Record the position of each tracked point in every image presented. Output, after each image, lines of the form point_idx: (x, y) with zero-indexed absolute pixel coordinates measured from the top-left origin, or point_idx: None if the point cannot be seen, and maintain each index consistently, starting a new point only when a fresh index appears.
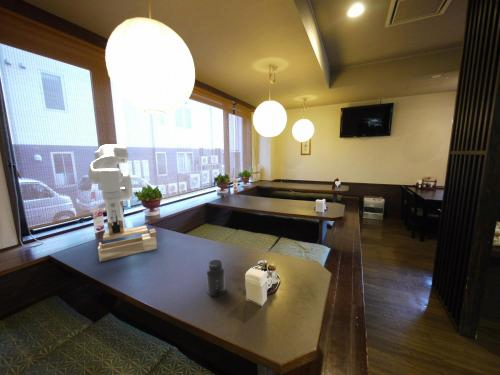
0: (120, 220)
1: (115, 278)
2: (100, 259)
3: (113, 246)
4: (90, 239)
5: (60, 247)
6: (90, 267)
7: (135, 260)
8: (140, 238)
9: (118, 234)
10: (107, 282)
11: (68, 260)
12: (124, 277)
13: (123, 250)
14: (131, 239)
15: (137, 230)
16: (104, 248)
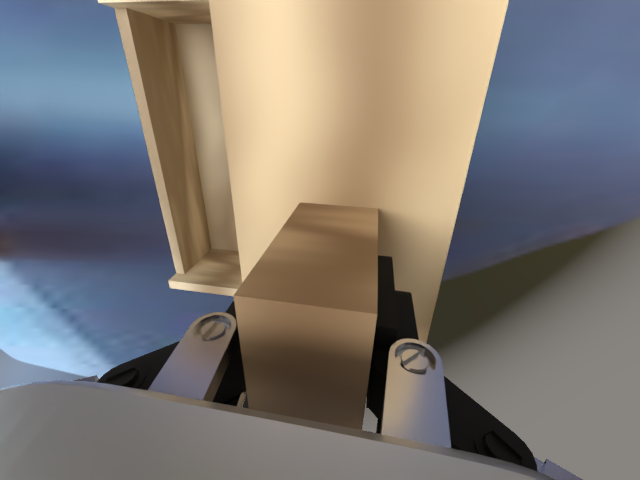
0: (287, 335)
1: (535, 210)
2: None
3: (187, 211)
4: (3, 277)
5: (70, 355)
6: None
7: None
8: (136, 24)
9: (401, 264)
10: (543, 241)
11: None
12: (568, 171)
13: None
14: (148, 102)
15: (411, 13)
16: (195, 251)
